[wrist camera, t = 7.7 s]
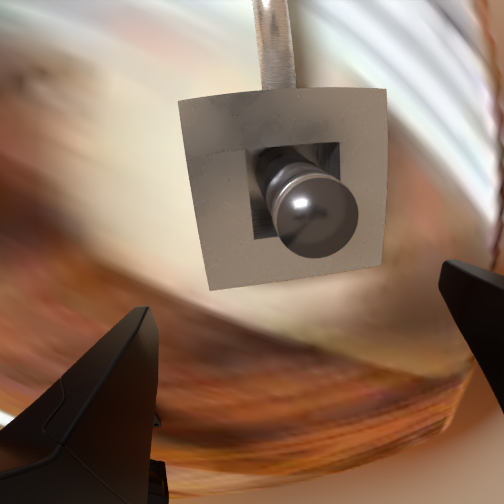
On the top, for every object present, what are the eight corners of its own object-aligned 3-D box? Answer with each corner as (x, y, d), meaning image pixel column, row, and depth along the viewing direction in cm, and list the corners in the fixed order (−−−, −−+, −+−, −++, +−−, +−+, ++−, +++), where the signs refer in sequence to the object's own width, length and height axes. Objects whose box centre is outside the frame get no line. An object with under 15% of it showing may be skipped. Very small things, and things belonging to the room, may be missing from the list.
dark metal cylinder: (309, 196, 20) (358, 253, 13) (256, 201, 20) (278, 264, 13) (306, 144, 18) (360, 174, 11) (251, 149, 18) (272, 181, 11)
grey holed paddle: (353, 234, 22) (381, 265, 18) (210, 253, 22) (209, 290, 18) (334, -48, 13) (361, -75, 9) (172, -43, 12) (162, -75, 8)
